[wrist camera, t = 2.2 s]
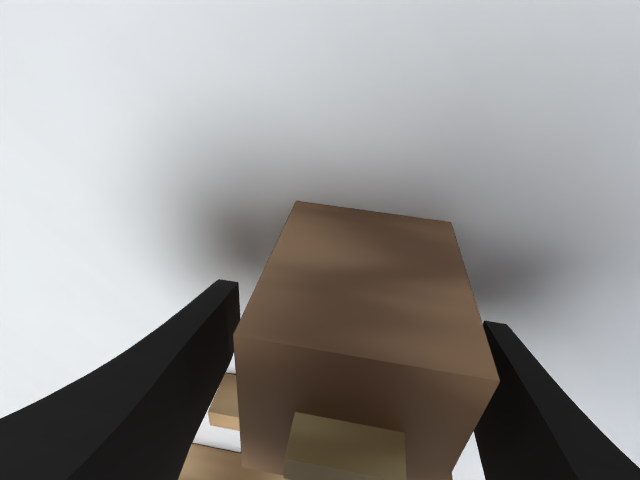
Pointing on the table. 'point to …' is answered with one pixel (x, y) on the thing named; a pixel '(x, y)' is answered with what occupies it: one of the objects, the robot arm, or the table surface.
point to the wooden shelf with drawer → (215, 464)
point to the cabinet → (361, 350)
